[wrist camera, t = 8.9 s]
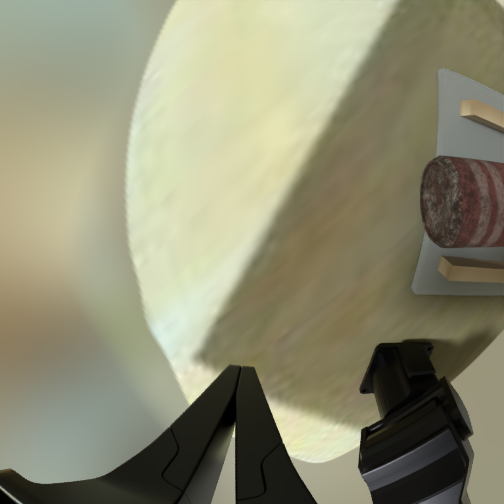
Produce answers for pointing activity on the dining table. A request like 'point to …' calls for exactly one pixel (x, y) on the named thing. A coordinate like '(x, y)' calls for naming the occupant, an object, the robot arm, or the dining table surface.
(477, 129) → the tray
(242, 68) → the dining table surface
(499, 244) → the can
